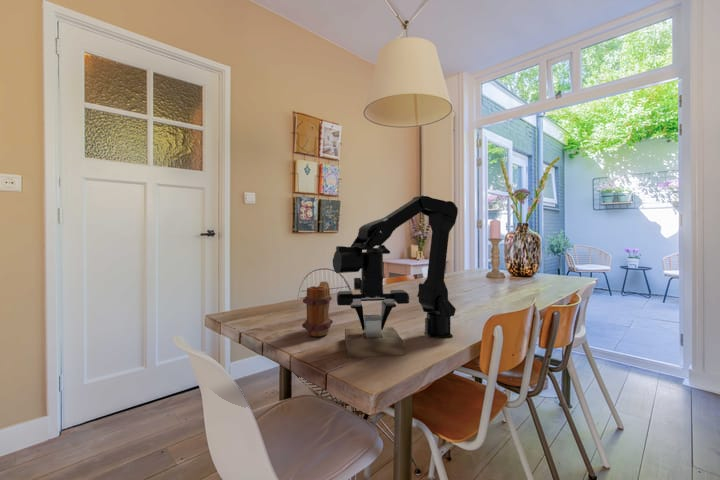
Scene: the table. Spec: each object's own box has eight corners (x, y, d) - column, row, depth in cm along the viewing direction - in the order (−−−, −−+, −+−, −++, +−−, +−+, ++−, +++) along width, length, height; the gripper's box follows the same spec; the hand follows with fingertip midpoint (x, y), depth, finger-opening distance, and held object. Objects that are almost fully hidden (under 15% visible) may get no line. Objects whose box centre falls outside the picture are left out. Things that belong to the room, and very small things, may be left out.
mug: (325, 340, 92) (325, 287, 92) (298, 338, 94) (298, 286, 94) (339, 326, 107) (339, 280, 107) (315, 325, 108) (315, 279, 108)
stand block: (392, 337, 95) (392, 325, 95) (404, 354, 81) (404, 340, 81) (344, 339, 93) (344, 327, 93) (348, 357, 79) (348, 343, 79)
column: (378, 343, 89) (378, 314, 89) (381, 348, 85) (381, 318, 85) (364, 344, 89) (364, 315, 89) (366, 349, 85) (365, 318, 85)
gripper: (399, 267, 96) (399, 320, 96) (336, 268, 94) (336, 322, 94) (409, 271, 85) (409, 331, 85) (337, 273, 83) (337, 334, 83)
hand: (372, 329), depth 87 cm, fingers open, 5 cm apart
